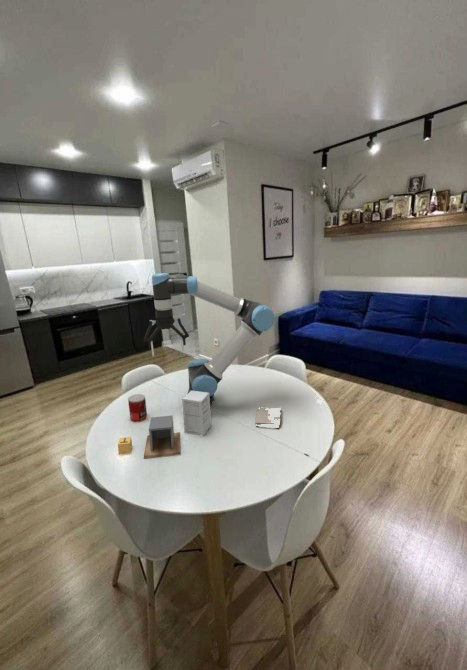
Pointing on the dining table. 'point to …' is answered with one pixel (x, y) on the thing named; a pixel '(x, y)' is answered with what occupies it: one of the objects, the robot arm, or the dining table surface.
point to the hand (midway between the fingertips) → (168, 353)
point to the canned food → (137, 407)
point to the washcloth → (263, 417)
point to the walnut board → (162, 447)
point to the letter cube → (125, 445)
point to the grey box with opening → (161, 429)
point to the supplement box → (196, 412)
